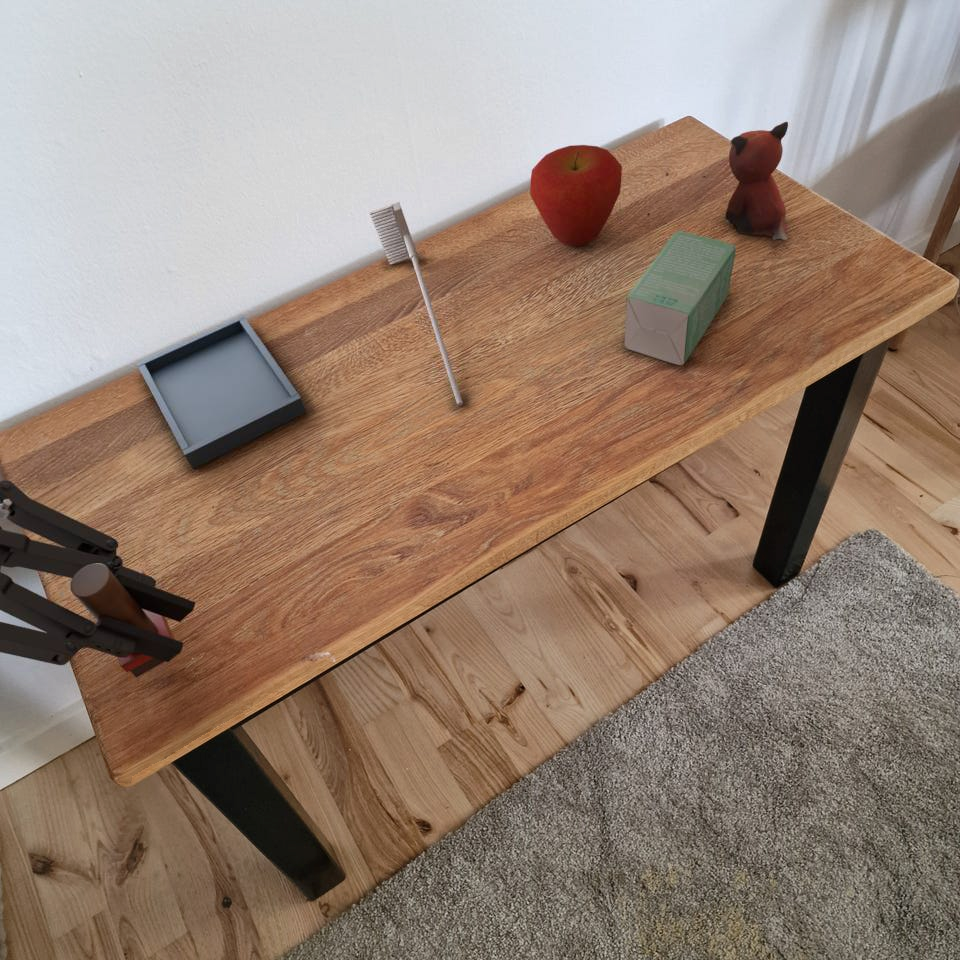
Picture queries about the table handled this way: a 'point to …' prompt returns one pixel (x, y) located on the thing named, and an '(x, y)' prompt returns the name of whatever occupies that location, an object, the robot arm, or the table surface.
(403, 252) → the brush
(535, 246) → the table surface
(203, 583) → the table surface
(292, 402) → the tray
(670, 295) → the box
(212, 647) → the table surface
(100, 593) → the brown cylinder on base
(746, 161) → the stuffed fox
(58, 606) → the robot arm
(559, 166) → the apple
